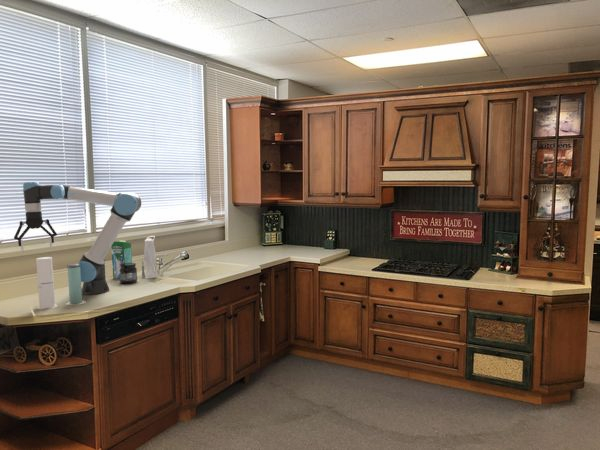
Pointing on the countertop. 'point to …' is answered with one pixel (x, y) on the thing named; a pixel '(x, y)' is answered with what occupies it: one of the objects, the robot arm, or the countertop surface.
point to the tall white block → (45, 282)
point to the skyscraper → (149, 259)
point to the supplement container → (128, 273)
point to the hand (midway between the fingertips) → (37, 250)
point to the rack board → (66, 304)
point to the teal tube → (74, 283)
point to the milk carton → (120, 256)
